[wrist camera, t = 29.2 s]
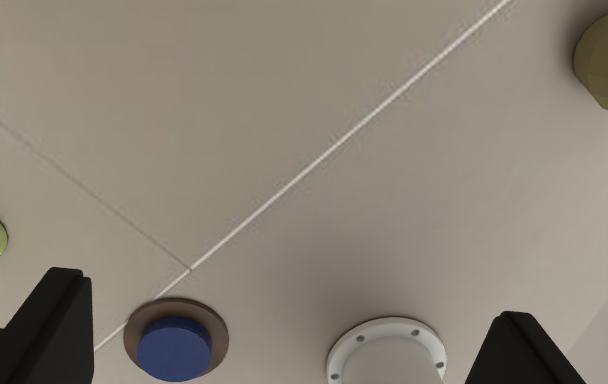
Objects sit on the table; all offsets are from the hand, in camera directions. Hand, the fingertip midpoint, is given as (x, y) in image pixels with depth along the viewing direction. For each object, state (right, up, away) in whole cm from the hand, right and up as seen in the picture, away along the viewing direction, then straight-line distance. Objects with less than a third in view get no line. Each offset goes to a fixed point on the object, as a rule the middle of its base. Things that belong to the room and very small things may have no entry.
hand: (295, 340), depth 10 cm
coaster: (-12, -11, +34) cm, 37 cm away
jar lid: (-12, -12, +32) cm, 36 cm away
